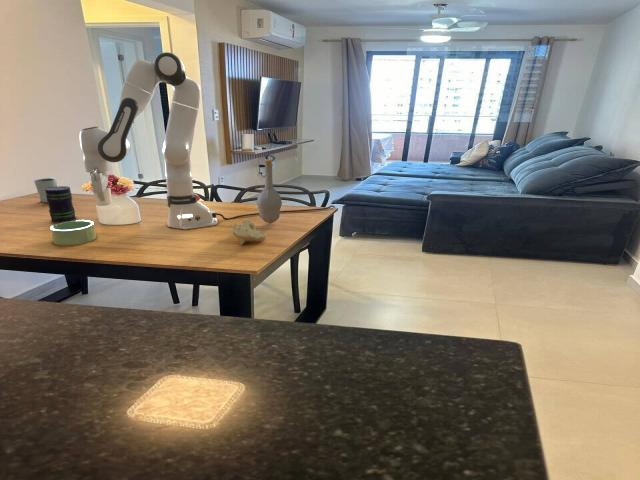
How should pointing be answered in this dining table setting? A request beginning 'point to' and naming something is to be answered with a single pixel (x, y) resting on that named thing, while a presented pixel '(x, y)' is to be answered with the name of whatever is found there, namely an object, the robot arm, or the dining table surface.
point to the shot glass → (106, 195)
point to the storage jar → (60, 204)
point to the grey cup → (44, 187)
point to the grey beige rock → (247, 232)
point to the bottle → (269, 198)
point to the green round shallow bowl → (73, 232)
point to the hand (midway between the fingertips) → (103, 199)
